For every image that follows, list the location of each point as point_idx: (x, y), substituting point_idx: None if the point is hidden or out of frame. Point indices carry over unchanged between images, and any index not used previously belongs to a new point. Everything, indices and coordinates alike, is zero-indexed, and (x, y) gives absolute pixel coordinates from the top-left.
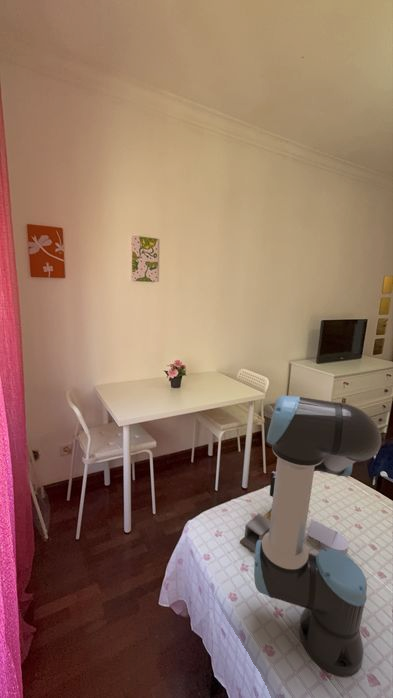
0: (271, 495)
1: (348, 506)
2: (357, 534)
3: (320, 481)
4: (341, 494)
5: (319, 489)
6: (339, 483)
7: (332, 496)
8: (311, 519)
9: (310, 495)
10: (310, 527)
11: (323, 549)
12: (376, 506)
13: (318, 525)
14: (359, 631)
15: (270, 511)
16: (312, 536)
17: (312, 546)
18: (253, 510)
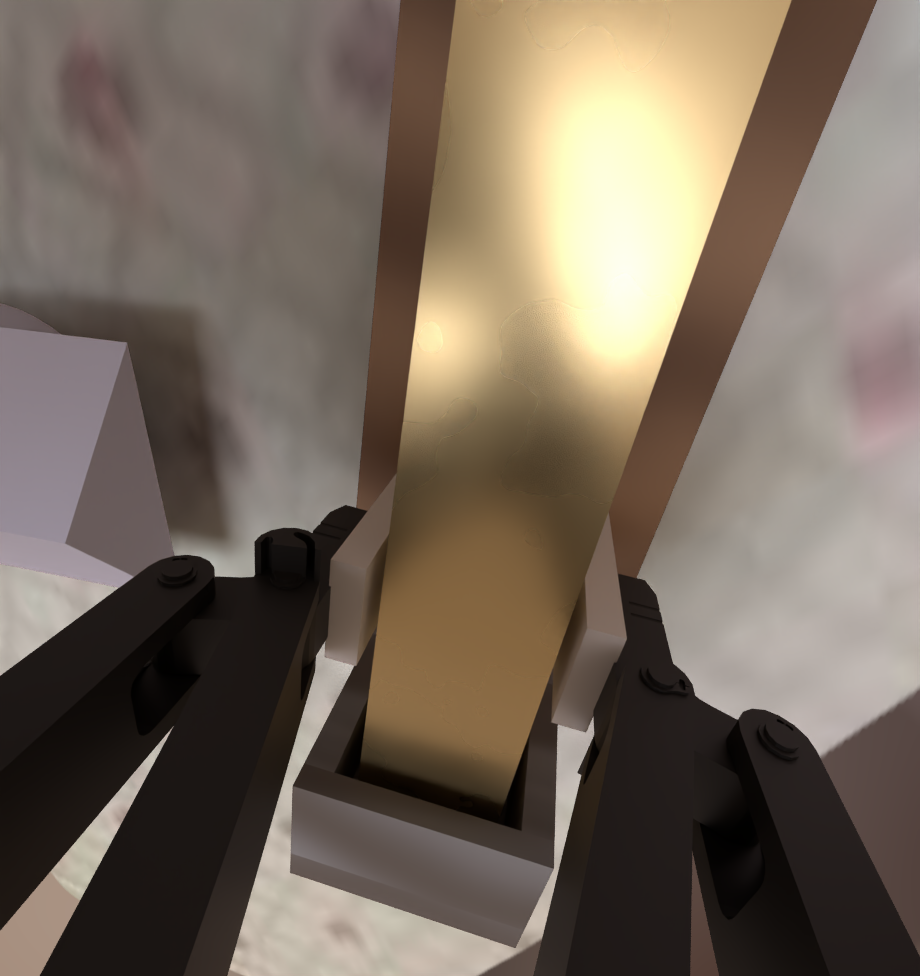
0: (758, 728)
1: None
2: (16, 635)
3: (394, 964)
4: (250, 899)
5: (372, 908)
6: (298, 966)
7: (281, 874)
8: (64, 539)
9: None
10: (77, 435)
11: (34, 326)
12: (83, 864)
13: None
14: None
15: (659, 254)
16: (58, 346)
17: (131, 313)
18: (901, 463)
